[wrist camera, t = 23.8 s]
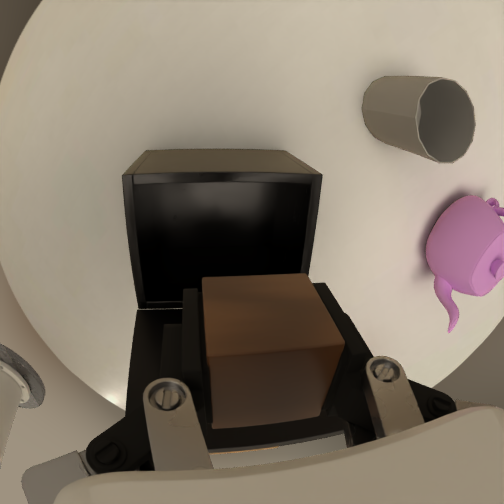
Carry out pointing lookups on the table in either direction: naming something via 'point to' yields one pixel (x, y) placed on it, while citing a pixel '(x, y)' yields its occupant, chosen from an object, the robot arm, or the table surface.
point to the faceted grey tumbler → (421, 116)
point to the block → (267, 348)
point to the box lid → (216, 440)
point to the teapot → (466, 250)
